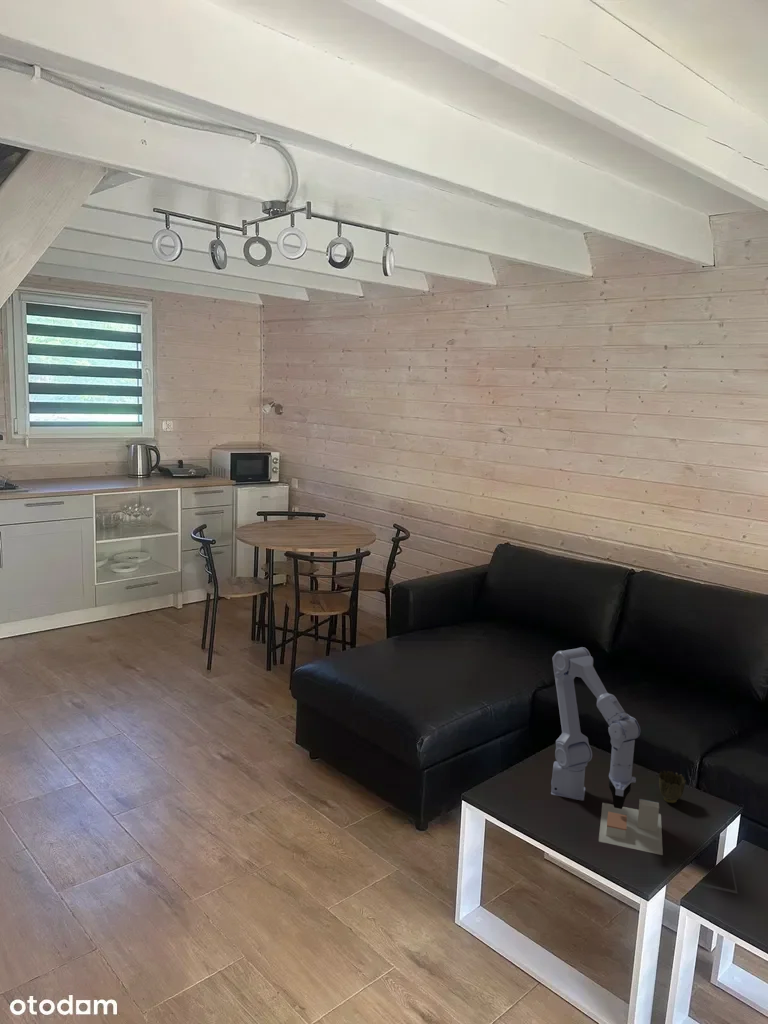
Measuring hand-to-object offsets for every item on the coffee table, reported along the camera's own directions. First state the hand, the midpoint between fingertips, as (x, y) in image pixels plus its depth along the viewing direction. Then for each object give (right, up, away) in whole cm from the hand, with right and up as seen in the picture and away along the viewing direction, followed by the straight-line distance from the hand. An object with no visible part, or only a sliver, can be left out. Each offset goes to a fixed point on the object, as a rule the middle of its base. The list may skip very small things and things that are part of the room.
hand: (618, 807), depth 199 cm
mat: (+3, -6, 0) cm, 7 cm away
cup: (+20, -4, +14) cm, 25 cm away
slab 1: (0, -4, +1) cm, 4 cm away
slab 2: (+8, -5, 0) cm, 10 cm away
